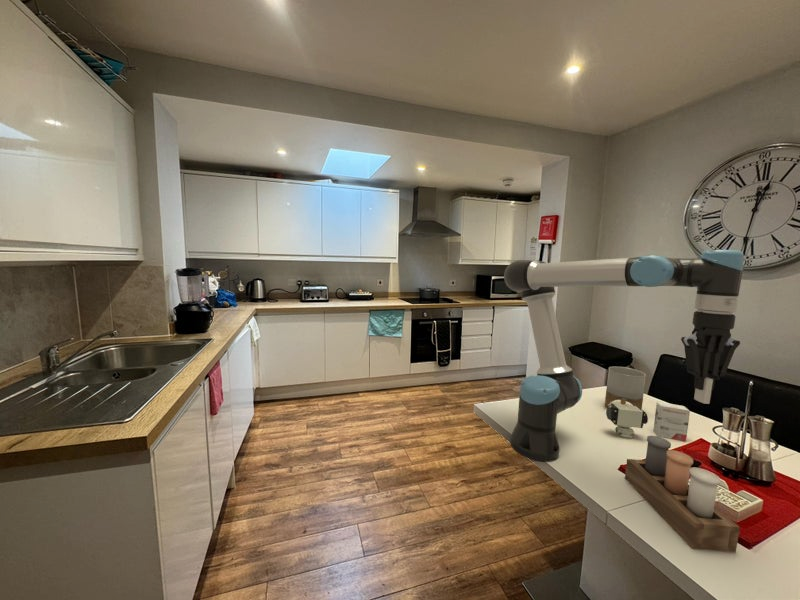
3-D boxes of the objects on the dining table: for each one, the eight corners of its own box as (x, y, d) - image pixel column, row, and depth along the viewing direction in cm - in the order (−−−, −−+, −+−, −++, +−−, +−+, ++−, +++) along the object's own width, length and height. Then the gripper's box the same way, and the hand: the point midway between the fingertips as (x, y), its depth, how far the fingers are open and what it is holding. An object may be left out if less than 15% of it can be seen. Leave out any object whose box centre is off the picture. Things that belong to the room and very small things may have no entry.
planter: (605, 401, 146) (609, 364, 144) (640, 410, 138) (645, 370, 136) (603, 411, 135) (608, 371, 133) (641, 421, 128) (646, 378, 126)
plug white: (696, 520, 70) (702, 480, 69) (678, 503, 75) (684, 466, 74) (720, 522, 70) (727, 482, 69) (700, 505, 75) (706, 468, 74)
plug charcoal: (651, 478, 84) (655, 445, 83) (638, 466, 89) (642, 434, 88) (671, 479, 84) (675, 446, 83) (657, 467, 89) (661, 436, 88)
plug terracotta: (672, 497, 77) (677, 461, 76) (657, 483, 82) (661, 449, 81) (693, 499, 77) (699, 463, 76) (677, 484, 82) (682, 450, 81)
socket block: (691, 548, 69) (695, 523, 68) (624, 478, 92) (627, 458, 91) (735, 552, 68) (740, 527, 68) (657, 480, 91) (659, 461, 90)
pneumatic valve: (645, 441, 112) (649, 409, 111) (609, 436, 115) (612, 405, 113) (637, 433, 118) (641, 402, 116) (602, 429, 120) (606, 399, 119)
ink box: (681, 435, 117) (685, 405, 116) (686, 442, 113) (690, 410, 111) (652, 430, 121) (656, 400, 119) (656, 436, 116) (660, 405, 115)
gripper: (702, 313, 76) (689, 406, 78) (757, 315, 76) (742, 409, 78) (675, 308, 83) (664, 394, 86) (725, 310, 83) (713, 396, 86)
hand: (701, 401), depth 82 cm, fingers closed
